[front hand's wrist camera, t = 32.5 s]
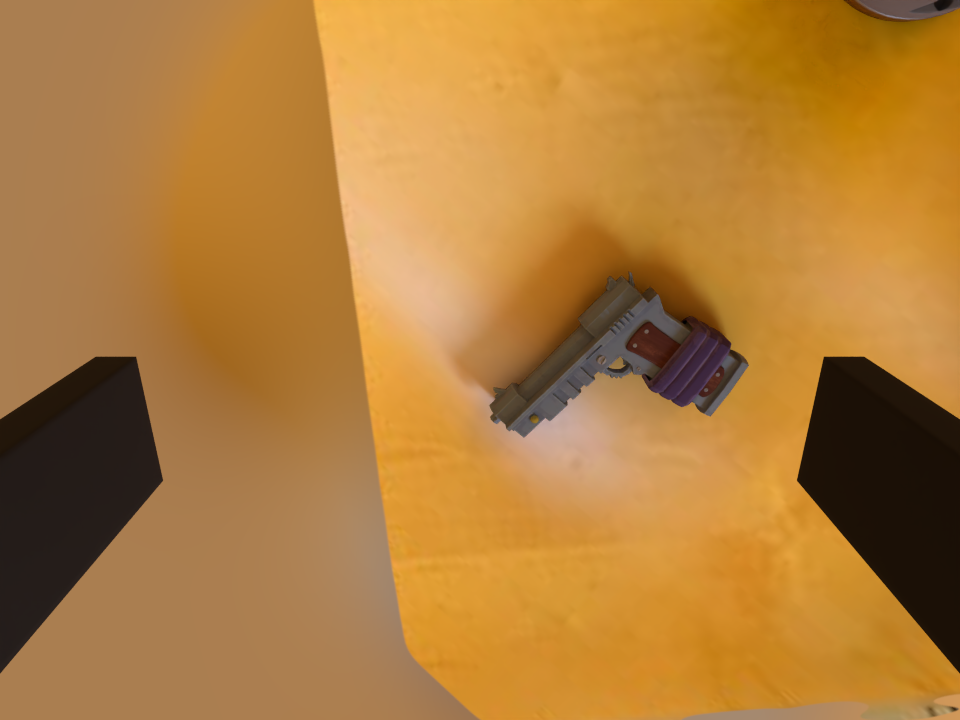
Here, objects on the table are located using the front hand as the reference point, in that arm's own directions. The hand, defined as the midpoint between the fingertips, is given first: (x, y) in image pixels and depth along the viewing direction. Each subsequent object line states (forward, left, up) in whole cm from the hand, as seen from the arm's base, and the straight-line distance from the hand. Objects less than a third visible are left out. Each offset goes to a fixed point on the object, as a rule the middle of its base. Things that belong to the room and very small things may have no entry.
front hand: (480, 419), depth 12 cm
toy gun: (+19, -7, -41) cm, 45 cm away
